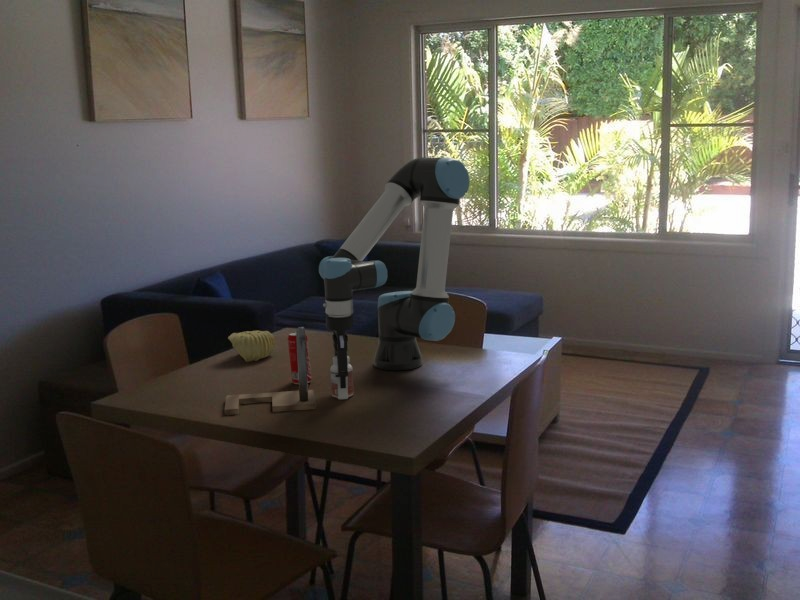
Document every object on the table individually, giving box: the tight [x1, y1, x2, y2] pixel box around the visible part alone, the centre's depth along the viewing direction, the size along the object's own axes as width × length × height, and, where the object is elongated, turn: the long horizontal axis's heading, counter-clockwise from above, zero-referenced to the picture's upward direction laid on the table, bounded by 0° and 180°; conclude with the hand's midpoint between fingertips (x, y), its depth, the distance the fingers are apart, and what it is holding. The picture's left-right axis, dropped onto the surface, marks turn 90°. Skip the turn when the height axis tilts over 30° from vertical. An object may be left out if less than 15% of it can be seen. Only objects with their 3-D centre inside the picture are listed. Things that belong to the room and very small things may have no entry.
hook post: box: [295, 326, 309, 402], centre depth 238 cm, size 2×8×23 cm, turn 8°
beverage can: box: [287, 331, 313, 385], centre depth 264 cm, size 6×6×15 cm
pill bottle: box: [330, 355, 355, 399], centre depth 250 cm, size 6×6×11 cm
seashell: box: [227, 329, 276, 363], centre depth 294 cm, size 17×11×15 cm
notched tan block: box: [224, 389, 317, 416], centre depth 244 cm, size 24×13×2 cm, turn 98°
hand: (342, 394), depth 251 cm, fingers open, 7 cm apart
